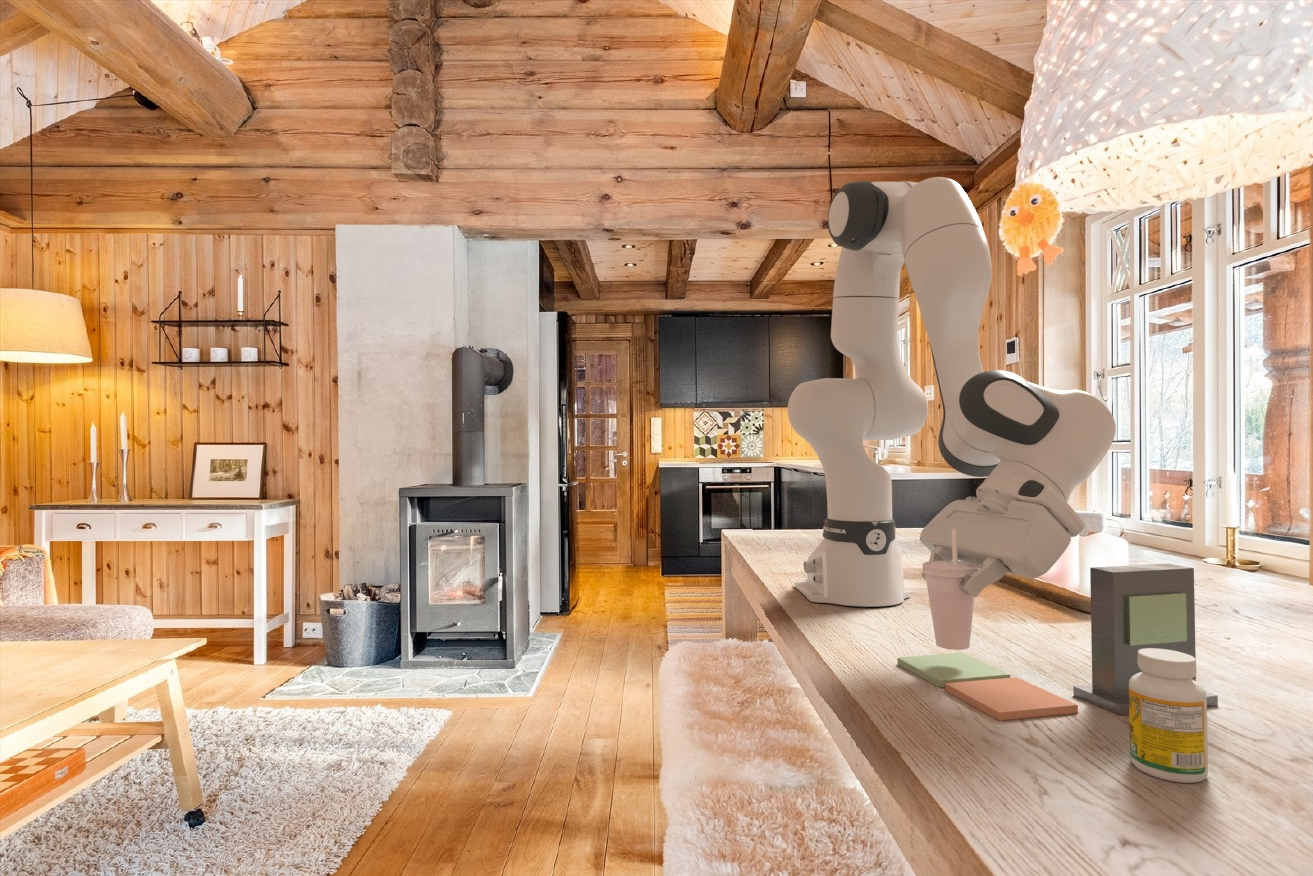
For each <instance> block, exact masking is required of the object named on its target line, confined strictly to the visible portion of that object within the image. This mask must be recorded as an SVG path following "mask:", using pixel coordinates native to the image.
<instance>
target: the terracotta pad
mask: <svg viewBox="0 0 1313 876" xmlns="http://www.w3.org/2000/svg"><path fill="white" fill-rule="evenodd" d="M944 688H945V689H944V690H945V692H947V693H950V694H951V695H952V696H954V697H957V698H958V699H960V700H962V701H963V702H965V703H967V704H969V705H971V706H972V707H974V708H975V709H978V710H980V711H982V712H983V713H985V714H986V715H988V716H990V717H992V718H994V719H997V720H998V721H1009V720H1010V721H1011V720H1021V719H1029V718H1040V717H1049V716H1059V715H1060V716H1061V715H1068V714H1069V715H1070V714H1071V715H1072V714H1078V713H1079V705H1078V704H1077V703H1074V702H1072V701H1070V700H1068V699H1066V698H1063V697H1061V696H1059V695H1057V694H1055V693H1052V692H1050V691H1048V690H1045V689H1044V688H1041V687H1039V686H1037V685H1035V684H1032V683H1031V682H1028V681H1025V680H1024V679H1021V678H1020V677H1015V676H1014V677H1013V676H1012V677H1010V678H1001V679H989V680H978V681H966V682H954V683H945V687H944Z"/></svg>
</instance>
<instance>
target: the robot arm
mask: <svg viewBox="0 0 1313 876" xmlns="http://www.w3.org/2000/svg"><path fill="white" fill-rule="evenodd" d="M827 213H828V214H827V228H828V233H829V235H830V237H831V239H832V241H833V242H834V243H835V244H836V245H837V246H839V247H841V251H840V253H839V258H838V262H837V267H836V271H835V278H834V285H833V294H832V295H833V296H832V297H833V298H832V310H831V312H832V313H831V328H830V339H831V342H832V345H833V346H834V348H835V349H836V350H837V351H839V353H841V354H843V355H844V356H845V357H847V358H849V359H850V360H851V362H852V364H853V366H854V370H855V378H848V377H847V378H839V377H835V378H832V377H825V378H819V379H814V380H813V379H812V380H809V381H805V382H800V383H799V384H798V385H797V386H796V387H795V388H794V390H793V391H792V393H791V395H790V397H789V400H788V404H787V418H788V420H789V423H790V426H791V428H793V430H794V432H795V433H796V434H797V435H798V436H800V437H801V438H802V439H804V440H805V441H806V442H807V443H808V444H809V445H810V446H811V448H812V449H813V451H814V452H815V454H816V456H817V458H818V459H819V462H820V464H821V466H822V469H823V473H824V477H825V489H826V502H827V503H826V504H827V505H826V506H827V508H826V509H827V517H826V518H825V520H823V521H822V522H823V523H824V525H823V526H822V529H823V531H822V537H823V539H822V541H821V542H820V543H819V544H818V545H817V547H816V548H815V549H814V550H813V551H812V552H811V554H809V556H808V558H807V560H804V561H803V571H804V573H806V574H807V576H806V577H807V578H805V579H799V580H796V581H795V582H794V587H795V588H796V589H797V590H798V591H799V592H800V593H801V594H802V595H803V596H805V597H806V599H807V600H809V601H810V602H811V603H812V602H813V603H825V604H834V605H839V606H841V605H842V606H847V607H848V606H849V607H850V606H851V607H865V608H866V607H887V606H894V605H899V604H902V603H903V602H904V600H905V599H907V598H911V591H910V590H909V589H905V581H904V570H903V569H904V568H903V560H902V553H901V550H900V548H898V547H897V546H896V545H895V543H894V541H895V540H896V530H897V527H896V521H895V519H894V518H893V484H892V483H893V482H892V477H891V475H890V474H889V472H888V470H887V469H885V468H884V467H883V466H881V465H880V464H878V463H877V462H874V461H873V460H872V459H871V458H870V457H869V455H868V453H867V452H866V450H865V445H864V441H895V440H898V439H902V438H907V437H910V436H914V435H917V434H918V433H919V432H920V431H922V429H923V428H924V426H925V425H926V422H927V420H928V415H929V400H928V398H927V396H926V393H925V392H924V390H923V389H922V387H920V385H918V384H917V383H916V382H915V381H914V380H913V379H912V378H911V377H910V375H909V373H908V371H907V370H906V368H905V365H904V364H903V361H902V358H901V354H900V350H899V340H898V332H899V331H898V326H899V325H898V322H899V305H900V291H901V290H900V289H901V288H900V287H901V285H900V284H901V283H900V281H901V279H900V278H901V272H902V268H903V265H904V263H905V268H906V270H907V275H908V278H909V281H910V284H911V287H912V290H913V294H914V297H915V299H916V302H917V304H918V307H919V312H920V315H921V318H922V322H923V325H924V326H923V327H924V329H925V332H926V335H927V338H928V342H929V345H930V346H929V347H930V353H931V358H932V360H933V367H934V370H935V376H936V380H937V385H938V389H939V394H940V400H941V405H942V420H941V421H942V422H941V425H940V429H939V433H938V448H939V452H940V454H941V456H942V459H944V461H945V462H946V464H947V465H949V466H950V467H951V468H952V469H954V470H956V471H957V472H959V473H961V474H964V475H966V476H970V477H975V478H976V477H977V478H984V477H986V478H985V479H984V480H983V481H982V483H980V484H979V486H978V487H977V488H976V492H975V493H976V497H975V496H967V497H966V498H965V499H956V500H955V501H952V502H949V503H948V505H947V504H946V506H945V507H944V508H943V509H941V510H940V512H939V513H937V514H936V515H935V516H934V517H933V519H931V520H930V521H929V522H928V523H927V525H926V526H924V528H923V529H922V530H921V531H920V533H919V534H920V535H919V541H920V542H921V543H922V544H923V545H924V546H925V548H927V549H928V551H930V557H929V559H928V562H930V561H953V555H952V528H957V555H958V561H961V562H969V563H974V564H977V565H978V566H979V567H980V568H979V570H978V571H977V572H975V573H974V574H973V575H972V576H970V575H966V576H965V578H964V579H963V581H961V582H960V584H959V588H960V589H961V590H962V591H963V592H964V593H965V594H967V595H970V596H972V597H975V598H976V597H978V596H979V595H980V593H981V592H983V590H984V589H985V588H987V587H989V586H991V585H993V584H994V583H996V582H998V581H1000V580H1001V579H1002V578H1003V577H1004V576H1005V575H1006V574H1011V575H1014V576H1019V577H1023V578H1025V579H1026V578H1027V579H1032V580H1035V579H1037V578H1039V577H1041V576H1043V575H1045V574H1046V573H1048V572H1049V571H1050V570H1051V569H1052V567H1053V566H1054V565H1055V564H1056V563H1057V562H1058V560H1059V559H1060V558H1061V557H1062V556H1063V554H1064V553H1065V551H1066V550H1067V549H1068V548H1069V546H1070V544H1071V541H1072V538H1074V537H1077V536H1078V535H1080V533H1082V531H1083V530H1084V529H1085V527H1086V523H1085V522H1084V521H1083V519H1082V518H1081V516H1080V515H1079V514H1078V513H1077V512H1076V511H1075V510H1074V508H1072V506H1071V505H1070V504H1069V503H1068V502H1069V499H1070V496H1071V494H1072V492H1074V490H1075V489H1076V488H1077V487H1079V486H1080V485H1082V484H1084V483H1085V482H1086V481H1087V480H1088V479H1089V477H1090V476H1091V475H1092V474H1093V472H1094V471H1095V470H1096V469H1097V467H1098V466H1099V465H1100V464H1101V462H1102V460H1103V459H1104V458H1105V456H1106V455H1107V453H1108V451H1109V449H1110V448H1111V446H1112V445H1113V441H1114V439H1115V435H1116V431H1117V430H1116V428H1117V427H1116V422H1115V418H1114V416H1113V413H1112V412H1111V411H1110V409H1109V408H1108V407H1107V406H1106V405H1105V403H1103V401H1101V400H1100V399H1099V398H1097V397H1096V396H1094V395H1093V394H1091V393H1089V392H1087V391H1083V390H1079V389H1066V390H1065V389H1064V390H1060V389H1054V388H1049V387H1045V386H1042V385H1039V384H1036V383H1032V382H1030V381H1027V380H1026V379H1025V378H1024V377H1022V376H1020V375H1019V374H1016V373H1014V372H1011V371H1007V370H1000V369H993V370H985V371H984V368H983V364H982V357H981V355H980V348H979V347H980V346H979V336H980V335H979V334H980V328H981V323H982V318H983V314H984V311H985V307H986V304H987V303H986V302H987V300H988V297H989V293H990V289H991V286H992V280H993V269H992V267H993V266H992V256H991V250H990V246H989V243H988V239H987V236H986V233H985V230H984V228H983V225H982V221H981V220H980V217H979V215H978V213H977V212H976V209H975V207H974V206H973V203H972V201H971V200H970V197H968V194H967V193H966V192H965V190H964V189H963V187H962V186H961V185H960V184H959V183H958V182H957V181H955V179H954V180H953V179H951V178H948V177H943V176H935V177H929V178H926V179H924V180H921V181H919V182H916V181H915V182H914V181H906V180H902V181H901V180H900V181H869V180H856V181H852V182H848V183H845V184H843V185H842V186H841V187H839V189H838V190H837V191H836V192H835V194H834V195H833V197H832V200H831V201H830V204H829V208H828V211H827ZM920 575H921V577H922V578H923V580H924V581H926V575H925V573H923V572H922V571H921V573H920Z"/></svg>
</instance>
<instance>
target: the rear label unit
mask: <svg viewBox="0 0 1313 876" xmlns="http://www.w3.org/2000/svg"><path fill="white" fill-rule="evenodd" d="M1089 568H1090V570H1089V574H1090V579H1089V580H1090V625H1091V627H1090V628H1091V629H1090V630H1091V631H1090V632H1091V635H1090V636H1091V637H1090V638H1091V678H1092V679H1091V681H1092V682H1091V683H1089V684H1080V685H1079V684H1077V685H1073V696H1075V697H1077V698H1079V699H1081V700H1084V701H1086V702H1088V703H1091V704H1093V705H1094V706H1098V707H1100V708H1102V709H1104V710H1107V711H1109V712H1111V713H1114V714H1116V715H1117V716H1124V715H1125V716H1127V715H1129V681H1130V679H1131V677H1132V676H1134V675H1135V674H1137V673H1140V672H1142V670H1141V669H1140V668H1139V666H1138V664H1137V660H1138V651H1139V650H1140V649H1145V648H1157V649H1166V650H1173V651H1178V652H1182V653H1185V654H1188V655H1191V656H1193V657H1194V658H1195V659H1196V654H1197V653H1196V619H1195V618H1196V613H1195V609H1196V608H1195V606H1196V605H1195V602H1196V601H1195V568H1194V567H1190V566H1185V565H1178V564H1173V563H1151V564H1138V565H1135V564H1133V565H1114V566H1112V565H1111V566H1096V567H1095V566H1093V567H1089ZM1196 660H1197V659H1196ZM1192 680H1194V681H1196V682H1197V675H1196V676H1195V677H1193V678H1192ZM1205 692H1206V695H1207V707H1214V706H1219V698H1218V696H1219V695H1217V694H1215V693H1211V692H1209V691H1206V690H1205Z"/></svg>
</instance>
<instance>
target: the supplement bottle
mask: <svg viewBox="0 0 1313 876" xmlns="http://www.w3.org/2000/svg"><path fill="white" fill-rule="evenodd" d="M1137 664H1138V666H1139V668H1140V669H1141V670H1142V672H1140V673H1137V674H1135V675H1134V676H1132V677H1131V679H1130V681H1129V714H1128V717H1129V719H1128V722H1129V724H1128V726H1129V759H1130V761H1131V763H1132V764H1133V765H1134V766H1135V767H1136V768H1137V769H1138V770H1139V771H1141V772H1143V773H1144V774H1146V775H1149V776H1152V777H1154V778H1158V779H1161V780H1165V781H1168V782H1172V783H1173V782H1175V783H1179V784H1180V783H1181V784H1195V783H1201V782H1202V781H1204V780H1206V778H1207V777H1208V776H1209V775H1208V774H1209V761H1208V760H1209V759H1208V758H1209V757H1208V754H1209V753H1208V706H1207V695H1206V692H1207V691H1206V690H1205V688H1204V687H1203V685H1201V684H1200V683H1199V682H1198V681H1197V680H1196V681H1194V680H1192V678H1193V677H1195V676H1196V677H1197V673H1198V670H1197V659H1195V658H1194V657H1193V656H1191V655H1188V654H1185V653H1182V652H1178V651H1173V650H1166V649H1157V648H1145V649H1140V650H1139V651H1138V660H1137ZM1205 691H1206V692H1205Z"/></svg>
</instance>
